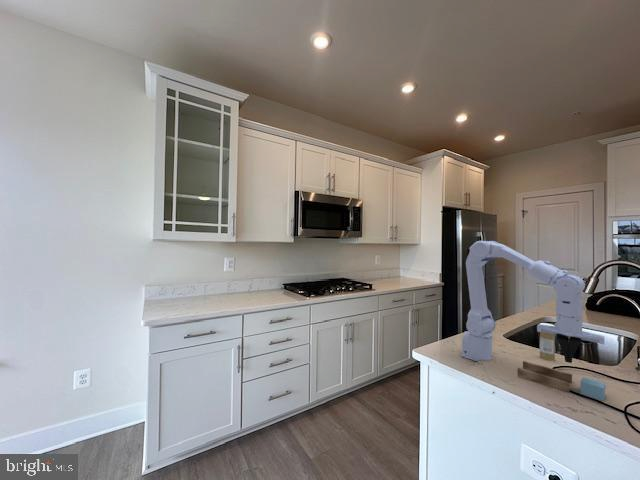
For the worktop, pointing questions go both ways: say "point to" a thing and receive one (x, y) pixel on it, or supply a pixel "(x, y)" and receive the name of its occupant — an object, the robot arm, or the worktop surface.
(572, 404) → the worktop surface
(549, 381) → the walnut channel
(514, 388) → the worktop surface
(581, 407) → the worktop surface
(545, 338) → the sprinkles bottle
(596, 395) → the blue block
